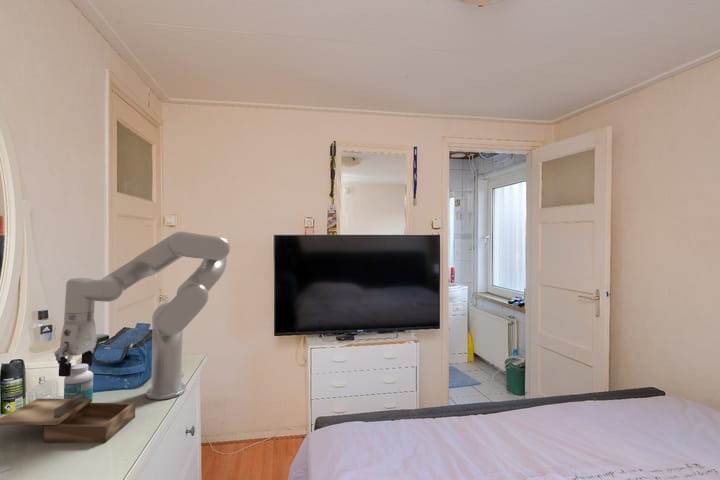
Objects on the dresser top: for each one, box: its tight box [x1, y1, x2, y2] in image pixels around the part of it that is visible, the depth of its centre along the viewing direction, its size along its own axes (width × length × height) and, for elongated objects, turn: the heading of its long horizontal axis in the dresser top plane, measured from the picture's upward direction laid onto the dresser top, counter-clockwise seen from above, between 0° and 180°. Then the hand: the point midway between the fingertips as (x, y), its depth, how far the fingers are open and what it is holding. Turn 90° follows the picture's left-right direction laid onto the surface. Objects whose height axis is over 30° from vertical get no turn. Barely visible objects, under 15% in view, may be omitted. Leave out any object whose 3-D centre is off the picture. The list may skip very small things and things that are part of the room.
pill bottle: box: [63, 363, 94, 403], centre depth 118 cm, size 8×7×14 cm
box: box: [43, 402, 136, 444], centre depth 105 cm, size 14×16×4 cm
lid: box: [0, 394, 92, 426], centre depth 105 cm, size 14×16×3 cm
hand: (76, 370), depth 117 cm, fingers open, 9 cm apart
